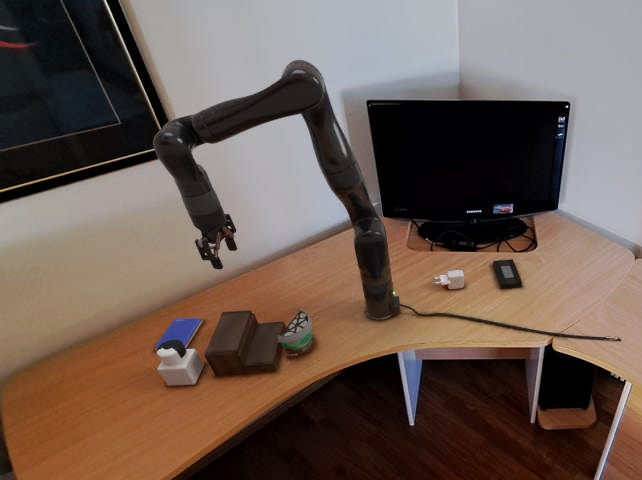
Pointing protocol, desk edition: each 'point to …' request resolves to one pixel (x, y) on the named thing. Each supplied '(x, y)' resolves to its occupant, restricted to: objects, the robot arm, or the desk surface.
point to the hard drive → (181, 331)
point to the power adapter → (451, 279)
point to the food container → (297, 335)
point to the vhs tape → (507, 274)
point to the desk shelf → (244, 345)
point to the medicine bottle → (178, 363)
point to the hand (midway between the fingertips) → (226, 259)
